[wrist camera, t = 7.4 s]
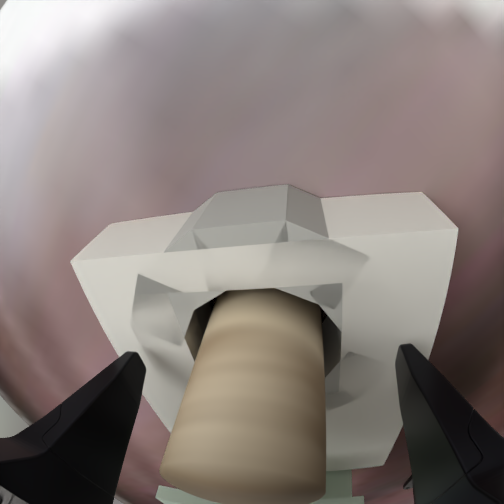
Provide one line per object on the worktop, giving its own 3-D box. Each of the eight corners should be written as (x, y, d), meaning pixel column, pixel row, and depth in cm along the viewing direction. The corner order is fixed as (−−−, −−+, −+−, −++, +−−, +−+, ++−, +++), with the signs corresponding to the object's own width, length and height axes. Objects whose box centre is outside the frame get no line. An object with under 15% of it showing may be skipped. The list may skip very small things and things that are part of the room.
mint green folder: (347, 442, 19) (349, 529, 13) (213, 442, 20) (194, 522, 14) (356, 395, 16) (364, 510, 9) (186, 397, 17) (155, 497, 11)
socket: (379, 427, 17) (383, 465, 15) (206, 431, 19) (197, 466, 17) (422, 175, 9) (460, 207, 7) (106, 210, 12) (63, 245, 9)
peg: (320, 328, 13) (323, 508, 6) (231, 332, 14) (189, 500, 7) (316, 248, 11) (329, 465, 4) (211, 256, 12) (130, 448, 5)
